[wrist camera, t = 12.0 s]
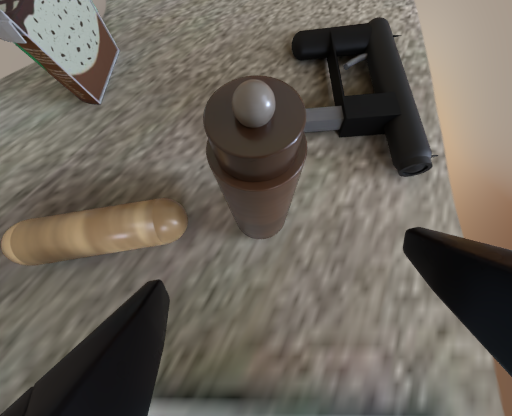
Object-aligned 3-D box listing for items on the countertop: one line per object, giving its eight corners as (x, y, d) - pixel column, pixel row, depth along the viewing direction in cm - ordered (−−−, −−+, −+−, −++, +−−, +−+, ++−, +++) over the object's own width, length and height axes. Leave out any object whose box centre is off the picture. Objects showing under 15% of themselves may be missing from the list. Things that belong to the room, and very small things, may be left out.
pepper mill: (294, 225, 20) (355, 110, 7) (248, 247, 19) (210, 172, 6) (271, 184, 21) (283, 20, 8) (228, 203, 21) (162, 63, 8)
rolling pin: (192, 203, 21) (176, 186, 17) (195, 243, 20) (178, 234, 16) (40, 228, 21) (-9, 216, 17) (33, 270, 20) (-23, 267, 16)
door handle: (266, 171, 19) (458, 160, 18) (261, 25, 26) (401, 8, 24) (267, 187, 22) (431, 178, 21) (263, 53, 29) (387, 39, 28)
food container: (79, 43, 30) (-7, -69, 20) (122, 42, 29) (54, -71, 20) (47, 114, 26) (-79, 16, 16) (96, 114, 25) (-4, 14, 16)
